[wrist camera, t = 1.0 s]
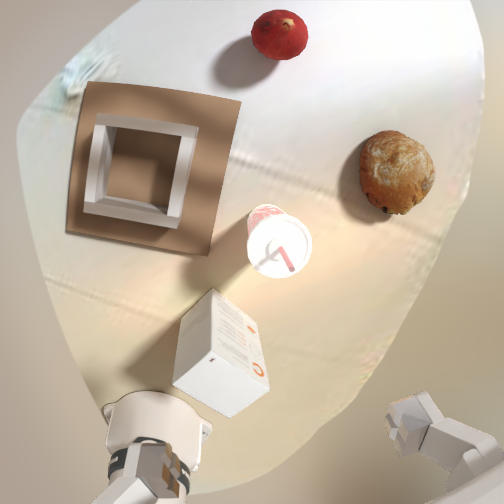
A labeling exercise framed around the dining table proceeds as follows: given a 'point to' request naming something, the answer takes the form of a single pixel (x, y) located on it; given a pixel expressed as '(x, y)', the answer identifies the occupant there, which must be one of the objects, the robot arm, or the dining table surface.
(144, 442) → the robot arm
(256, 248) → the beverage cup
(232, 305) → the small box
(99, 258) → the dining table surface
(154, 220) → the walnut board
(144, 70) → the dining table surface
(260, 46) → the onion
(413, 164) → the bread roll
